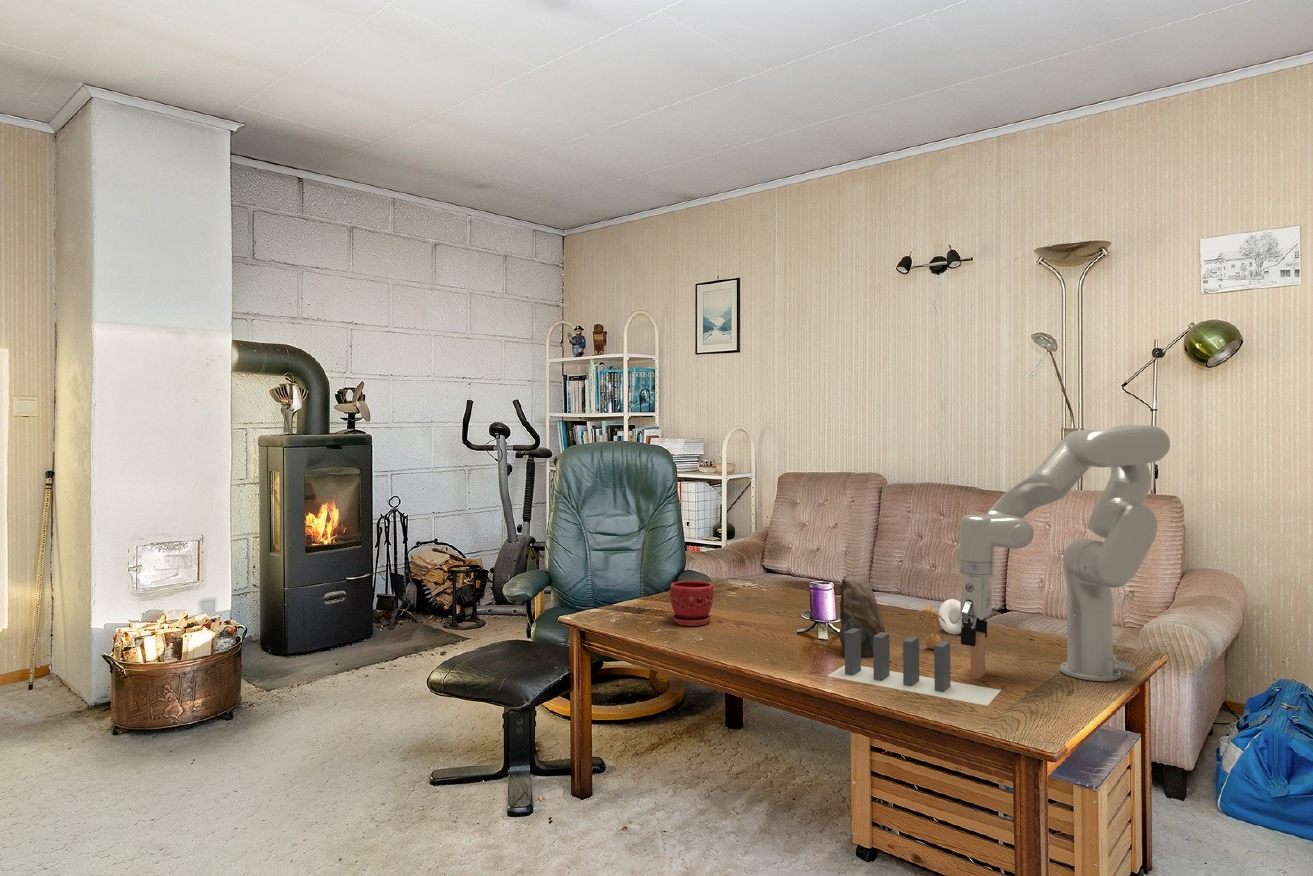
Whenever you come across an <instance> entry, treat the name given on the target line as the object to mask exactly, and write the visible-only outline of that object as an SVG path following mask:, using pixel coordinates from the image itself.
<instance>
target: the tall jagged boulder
mask: <svg viewBox="0 0 1313 876" xmlns="http://www.w3.org/2000/svg"><path fill="white" fill-rule="evenodd" d="M870 583H871V582H870V581H869V578H868V576H867V575H866V573H863V572H862V573H860V574H851V573H850V574H846V575H845V576H844V577H843V578H842V582H841V584H840V585H839V588H840V602H839V603H840V604H839V605H840V606H839V608H840V609H839V618H840V620H839V621H840V626H841V628H839V633H838V636H839V641H840V645H841V654H842V655H843V656H845V632H846V631H848V630H850V629H852V628H857V629H861V659H866V658H867V659H868V658H873V636H875V635H877V634H878V633H880V632H885V633H886V630H885V625H884V622H883V619H882V616H881V612H880V610H879V606H878V603H877V599H876V597H875V594H874V591H873V588H872V586H871V584H870ZM890 649H891V648H889V653H890V651H891V650H890ZM889 658H890V655H889Z"/></svg>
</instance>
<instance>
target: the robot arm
mask: <svg viewBox="0 0 1313 876" xmlns="http://www.w3.org/2000/svg"><path fill="white" fill-rule="evenodd" d="M1170 447H1171V440H1170V437H1169V435H1168V434H1167V432H1166V431H1165V430H1164V429H1162V428H1161V427H1159V426H1156V425H1150V424H1149V425H1148V424H1147V425H1144V424H1143V425H1142V424H1141V425H1140V424H1139V425H1137V424H1136V425H1134V424H1132V425H1131V424H1129V425H1127V424H1124V425H1117V426H1114V427H1113V426H1112V427H1111V428H1109V429H1080V430H1079V429H1077V430H1074V431H1071V432H1069V433H1068V434H1066V435H1065V436H1064V437H1063V439H1061V441H1060V442H1059V443H1058V444H1057V445H1056V446H1055V448H1053V450H1052V451H1051V453H1050V454H1048V456H1047V457H1046V458H1045V459H1044V460H1043V462H1041V464H1040V465H1039V466H1038V467H1037V468H1036V469H1035V471H1034V472H1033V473H1031V474H1030V475H1029V476H1028V477H1026V478H1025V479H1023V480H1022V481H1020V482H1019V483H1018V484H1016V485H1015V486H1013V487H1012V488H1011V489H1009V490H1008V491H1006V492H1005V493H1004V494H1003V495H1001V497H1000V498H999V499H997V501H996V502H995V503H994V504H993V505H992V506H991V508H990V509H989V510H988V511H987V513H986V514H985V515H983V514H966V515H963V516H962V517H960V518H961V519H960V522H959V552H958V553H959V555H958V556H959V557H958V574H959V575H961V576H962V578H961V580H962V581H961V587H960V588H961V589H960V602H961V604H960V611H961V616H962V619H961V620H962V623H961V633H960V644H961V645H963V646H969V647H970V646H975V645H976V632H982V633H985V639H986V638H987V637H988V617H989V616H990V615H991V614H992V611H993V607H992V606H993V603H992V601H993V600H992V597H993V596H992V592H993V591H992V577H993V576H994V562H995V547H996V548H997V547H999V548H1001V547H1002V548H1006V549H1011V550H1012V549H1013V550H1018V549H1022V548H1025V547H1027V546H1029V545H1030V544H1031V542H1033V541H1032V540H1033V539H1034V529H1033V527H1032V525H1031V523H1030V522H1028V521H1027V520H1026V519H1024V518H1025V517H1026V516H1027V515H1028V514H1029V513H1031V512H1032V511H1034V510H1036V509H1038V508H1040V507H1042V506H1046V505H1048V504H1052V503H1054V502H1056V501H1059V500H1061V499H1063V498H1065V497H1066V496H1067V495H1068V494H1069V492H1070V491H1072V489H1073V487H1074V486H1075V485H1076V484H1077V482H1078V481H1080V479H1081V478H1082V477H1083V475H1085V474H1086V472H1087V471H1089V469H1090V468H1091V467H1093V468H1094V467H1095V468H1110V476H1109V479H1108V482H1107V483H1106V486H1105V488H1104V489H1103V491H1102V492H1101V495H1100V497H1099V499H1098V501H1097V502H1096V504H1095V506H1094V507H1093V509H1092V511H1091V514H1090V516H1089V519H1088V520H1089V521H1088V523H1089V525H1088V526H1089V528H1090V530H1091V532H1093V534H1095V535H1096V536H1098V537H1100V538H1103V539H1105V540H1104V542H1103V541H1099V540H1094V539H1089V538H1082V539H1081V538H1080V539H1077V540H1074V541H1072V542H1071V543H1069V544H1068V545H1067V547H1065V549H1064V551H1063V555H1062V567H1063V572H1064V578H1065V585H1066V600H1067V601H1066V614H1067V615H1066V624H1067V625H1066V626H1067V627H1066V628H1067V629H1066V630H1067V631H1066V632H1067V634H1066V635H1067V637H1066V638H1067V640H1066V641H1067V646H1066V647H1067V648H1066V650H1067V653H1066V655H1067V657H1066V658H1067V659H1066V660H1067V661H1065V662H1062V663H1060V665H1059V670H1060V671H1061V673H1063V674H1065V675H1066V676H1069V677H1072V678H1076V679H1080V680H1085V681H1092V682H1093V681H1095V682H1113V681H1118V680H1119V679H1121V677H1122V673H1123V672H1125V673H1126V674H1127V673H1128V674H1136V665H1135V664H1131V662H1126V661H1119V660H1120V659H1119V660H1118V659H1117V655H1116V654H1114V629H1113V628H1114V623H1113V622H1114V620H1113V619H1114V617H1113V615H1114V612H1113V611H1114V600H1113V593H1112V589H1111V588H1120V587H1124V586H1126V585H1127V584H1128V583H1129V582H1131V580H1133V578H1134V577H1135V576H1136V575H1137V572H1138V571H1139V569H1140V567H1141V566H1142V563H1143V561H1144V560H1145V558H1146V556H1147V554H1148V553H1149V550H1150V548H1151V546H1152V545H1153V543H1154V541H1155V539H1156V537H1157V534H1158V533H1157V532H1158V526H1159V525H1158V520H1157V519H1158V518H1157V516H1156V514H1155V513H1154V511H1153V510H1152V509H1151V508H1149V506H1146V505H1145V504H1144V503H1145V501H1146V499H1147V497H1148V495H1149V492H1150V490H1151V485H1152V475H1151V471H1150V468H1149V465H1148V464H1151V463H1156V462H1158V461H1160V460H1162V459H1163V458H1165V457H1166V456H1167V454H1168V452H1169V451H1170ZM971 620H972V622H971Z"/></svg>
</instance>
